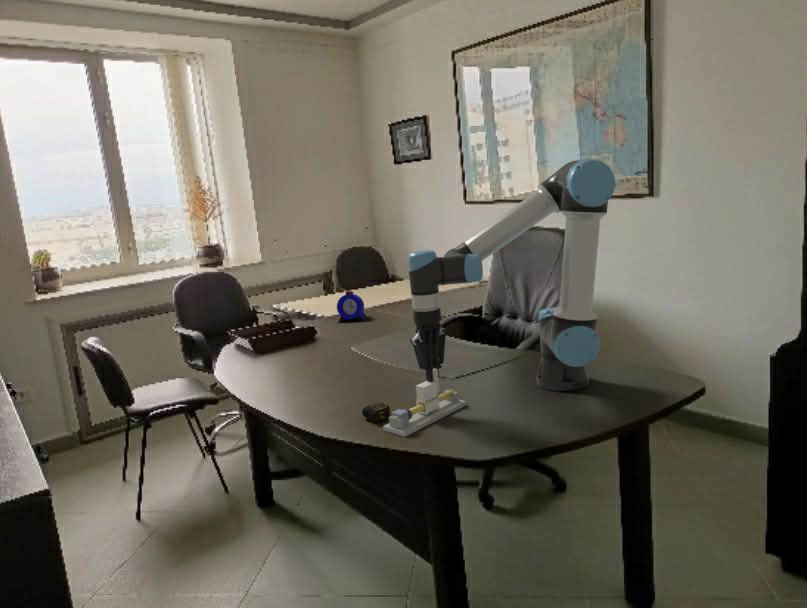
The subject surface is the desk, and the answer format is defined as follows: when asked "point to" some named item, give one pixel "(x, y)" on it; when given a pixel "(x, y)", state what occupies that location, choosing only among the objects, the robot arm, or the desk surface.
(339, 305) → the alarm clock
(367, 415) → the tape measure
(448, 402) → the threaded rod slide
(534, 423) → the desk surface
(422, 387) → the white rectangular block
